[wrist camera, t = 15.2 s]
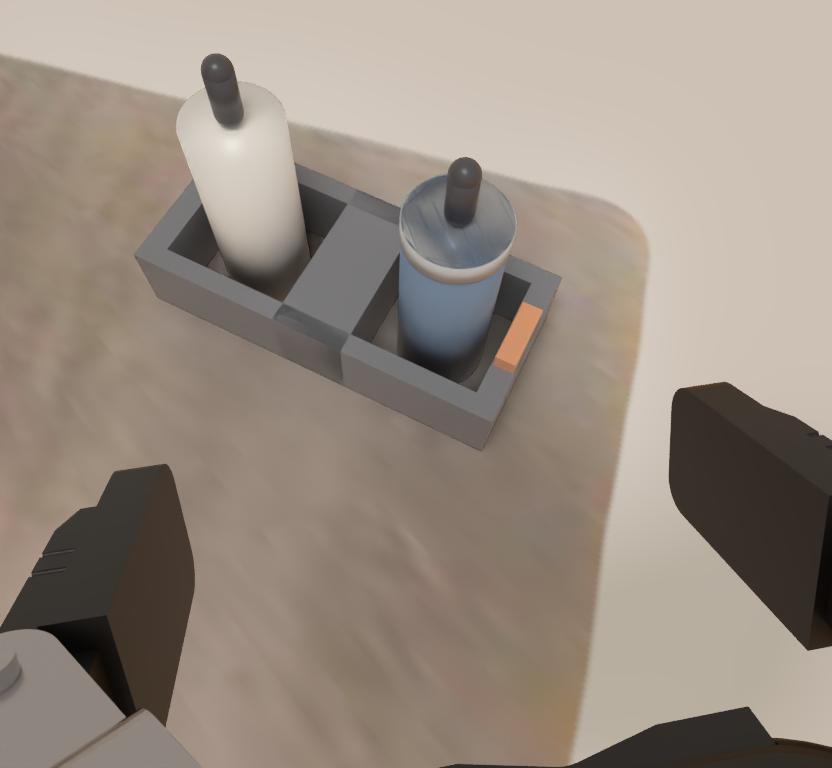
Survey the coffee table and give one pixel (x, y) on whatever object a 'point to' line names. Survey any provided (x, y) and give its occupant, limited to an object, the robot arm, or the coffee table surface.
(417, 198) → the canister
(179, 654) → the robot arm
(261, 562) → the coffee table surface
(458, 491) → the coffee table surface
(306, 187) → the gray two-compartment caddy
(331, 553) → the coffee table surface
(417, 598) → the coffee table surface
